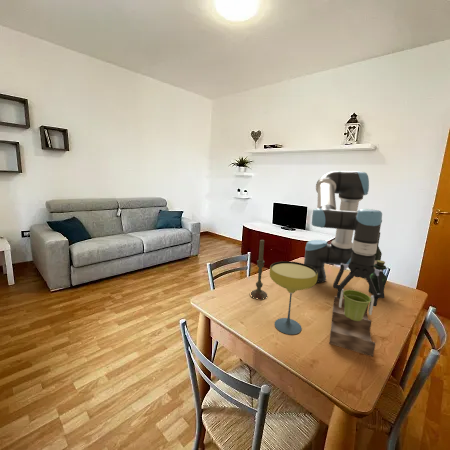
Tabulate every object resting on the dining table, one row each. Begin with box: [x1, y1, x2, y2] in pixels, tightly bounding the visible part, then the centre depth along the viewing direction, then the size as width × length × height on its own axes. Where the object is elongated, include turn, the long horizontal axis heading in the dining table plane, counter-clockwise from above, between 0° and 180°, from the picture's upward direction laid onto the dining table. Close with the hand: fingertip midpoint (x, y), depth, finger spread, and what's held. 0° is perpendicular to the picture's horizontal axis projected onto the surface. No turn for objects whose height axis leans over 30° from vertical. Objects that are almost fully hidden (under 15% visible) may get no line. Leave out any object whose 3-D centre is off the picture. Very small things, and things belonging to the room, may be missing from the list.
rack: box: [329, 295, 376, 357], centre depth 99 cm, size 14×30×5 cm, turn 154°
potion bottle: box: [368, 259, 388, 295], centre depth 129 cm, size 8×8×18 cm
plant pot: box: [343, 289, 371, 321], centre depth 91 cm, size 9×9×9 cm
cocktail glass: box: [269, 260, 318, 336], centre depth 97 cm, size 18×18×25 cm
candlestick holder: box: [250, 239, 268, 300], centre depth 121 cm, size 9×9×30 cm
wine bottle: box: [374, 232, 383, 269], centre depth 149 cm, size 8×8×30 cm
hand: (354, 309), depth 91 cm, fingers closed on plant pot, 9 cm apart
